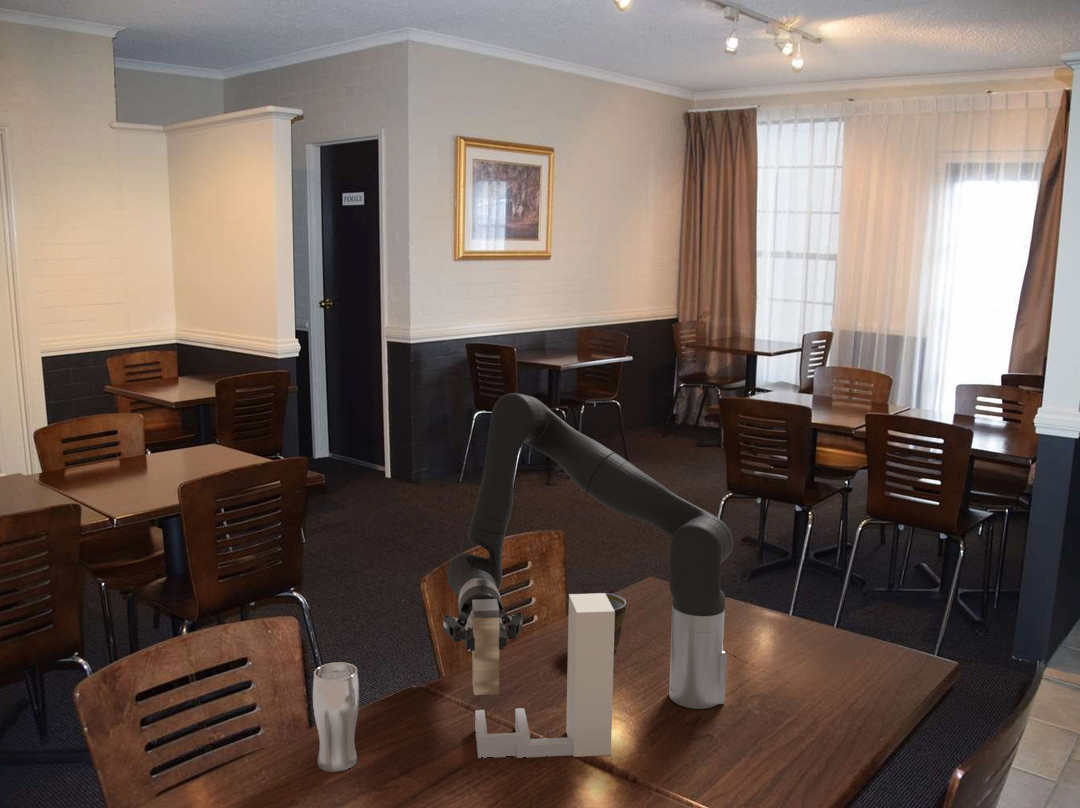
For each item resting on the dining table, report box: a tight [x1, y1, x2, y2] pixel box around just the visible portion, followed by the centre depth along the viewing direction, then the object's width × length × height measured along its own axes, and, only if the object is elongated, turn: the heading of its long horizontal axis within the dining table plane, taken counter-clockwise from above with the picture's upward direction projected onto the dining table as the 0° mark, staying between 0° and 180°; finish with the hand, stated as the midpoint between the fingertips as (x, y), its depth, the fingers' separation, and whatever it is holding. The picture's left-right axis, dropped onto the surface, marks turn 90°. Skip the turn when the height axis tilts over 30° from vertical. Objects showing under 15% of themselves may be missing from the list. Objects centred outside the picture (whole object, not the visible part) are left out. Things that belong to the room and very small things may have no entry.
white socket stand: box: [474, 592, 615, 759], centre depth 150 cm, size 21×10×24 cm, turn 97°
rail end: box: [471, 599, 500, 696], centre depth 149 cm, size 4×5×14 cm
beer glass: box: [312, 661, 360, 773], centre depth 144 cm, size 7×7×15 cm
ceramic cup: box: [590, 592, 627, 652], centre depth 187 cm, size 13×10×10 cm
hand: (487, 644), depth 147 cm, fingers closed on rail end, 4 cm apart
